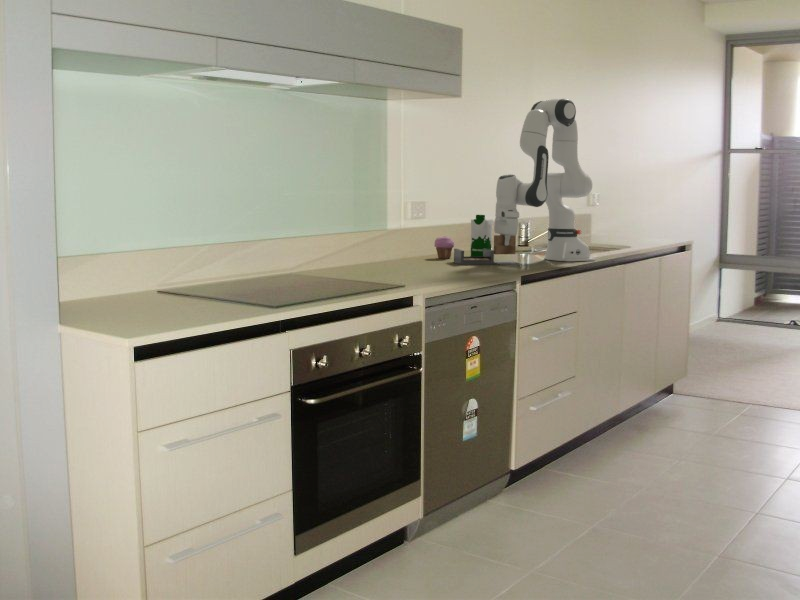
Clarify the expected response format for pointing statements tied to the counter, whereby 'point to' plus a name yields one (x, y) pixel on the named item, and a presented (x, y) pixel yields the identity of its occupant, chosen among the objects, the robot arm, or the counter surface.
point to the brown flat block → (504, 245)
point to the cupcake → (444, 247)
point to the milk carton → (480, 235)
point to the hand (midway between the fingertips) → (504, 245)
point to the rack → (486, 255)
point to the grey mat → (505, 262)
